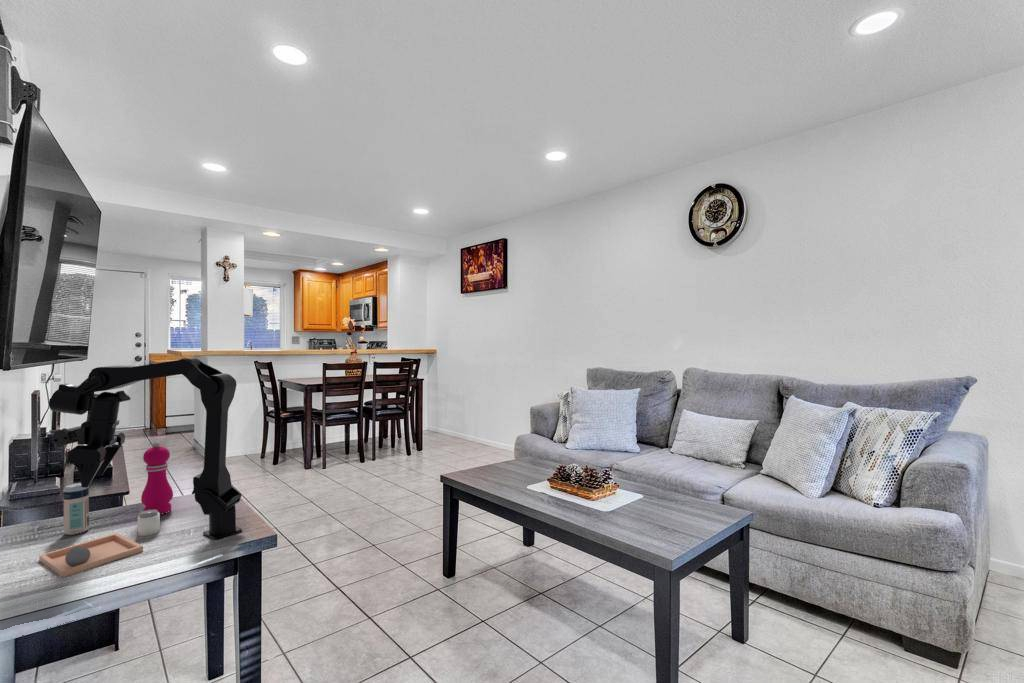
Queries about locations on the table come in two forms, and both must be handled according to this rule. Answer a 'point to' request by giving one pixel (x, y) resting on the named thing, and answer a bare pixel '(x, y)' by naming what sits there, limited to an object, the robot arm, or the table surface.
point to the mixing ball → (77, 556)
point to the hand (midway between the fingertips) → (92, 480)
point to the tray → (92, 554)
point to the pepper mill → (157, 480)
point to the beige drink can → (76, 509)
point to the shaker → (148, 522)
